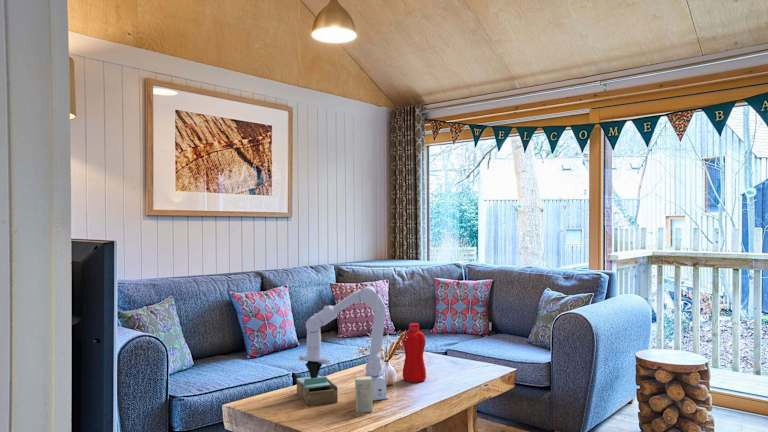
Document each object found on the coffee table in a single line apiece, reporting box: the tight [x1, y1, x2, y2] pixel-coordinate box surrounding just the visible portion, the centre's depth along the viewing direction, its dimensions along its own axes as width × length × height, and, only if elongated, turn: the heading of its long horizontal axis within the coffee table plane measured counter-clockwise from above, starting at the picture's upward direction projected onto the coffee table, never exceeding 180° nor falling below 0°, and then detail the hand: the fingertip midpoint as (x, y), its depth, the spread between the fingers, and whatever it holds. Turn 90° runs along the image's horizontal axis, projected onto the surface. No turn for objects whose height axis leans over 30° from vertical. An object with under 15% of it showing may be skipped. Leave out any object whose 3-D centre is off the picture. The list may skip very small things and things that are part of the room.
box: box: [296, 378, 338, 407], centre depth 230 cm, size 16×12×6 cm
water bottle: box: [401, 322, 427, 383], centre depth 254 cm, size 9×11×25 cm
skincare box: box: [354, 375, 374, 413], centre depth 215 cm, size 6×4×12 cm
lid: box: [296, 375, 331, 389], centre depth 234 cm, size 14×10×3 cm
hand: (314, 380), depth 233 cm, fingers closed
